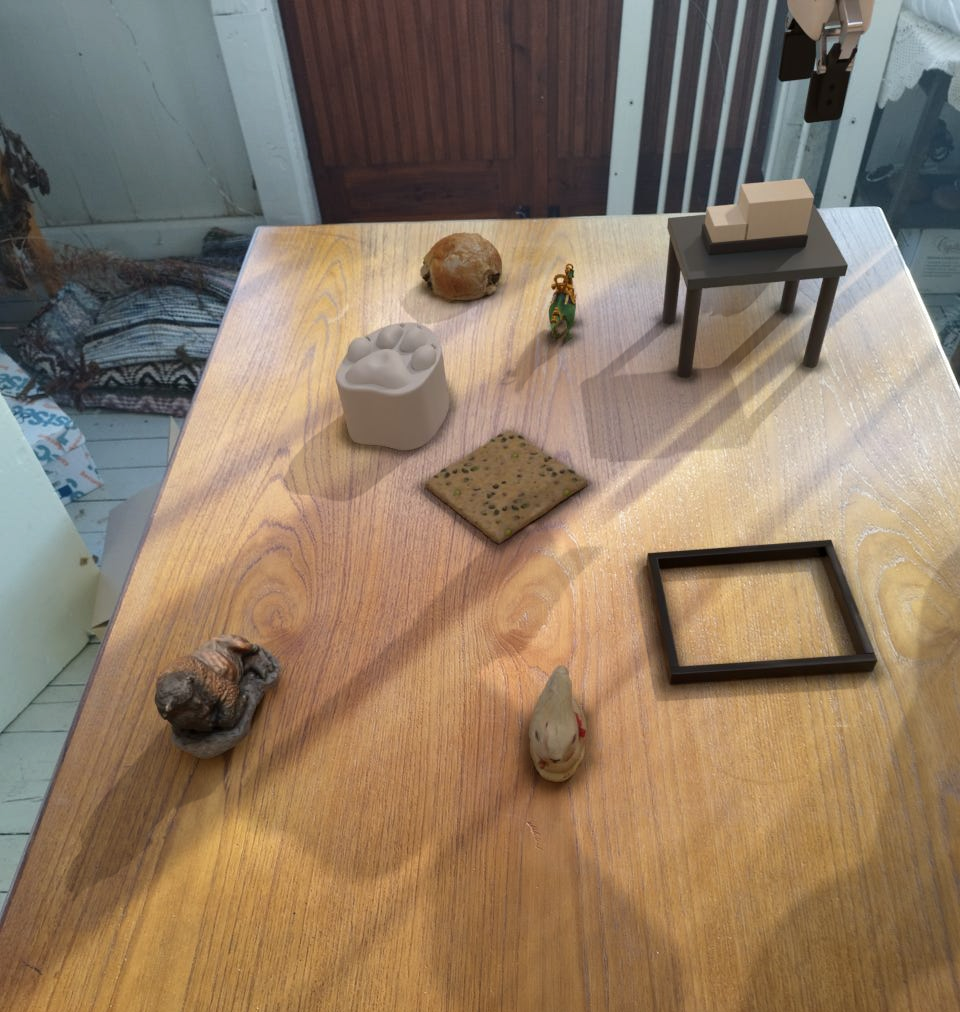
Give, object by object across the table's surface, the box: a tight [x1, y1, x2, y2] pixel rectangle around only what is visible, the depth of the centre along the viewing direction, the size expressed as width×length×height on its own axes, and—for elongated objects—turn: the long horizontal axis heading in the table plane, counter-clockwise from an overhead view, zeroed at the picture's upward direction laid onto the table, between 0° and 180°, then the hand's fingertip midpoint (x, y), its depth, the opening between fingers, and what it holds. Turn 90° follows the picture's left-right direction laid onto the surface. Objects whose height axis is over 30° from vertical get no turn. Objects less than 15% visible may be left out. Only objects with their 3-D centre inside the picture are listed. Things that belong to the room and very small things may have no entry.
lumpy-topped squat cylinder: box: [334, 321, 450, 451], centre depth 95 cm, size 10×13×9 cm
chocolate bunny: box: [528, 664, 588, 783], centre depth 66 cm, size 6×8×10 cm
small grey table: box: [661, 204, 849, 379], centre depth 96 cm, size 16×13×12 cm
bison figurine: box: [154, 633, 282, 760], centre depth 70 cm, size 12×7×10 cm, turn 168°
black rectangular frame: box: [646, 539, 878, 685], centre depth 76 cm, size 17×14×2 cm
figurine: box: [548, 263, 578, 341], centre depth 101 cm, size 3×12×8 cm, turn 166°
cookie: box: [424, 429, 587, 545], centre depth 88 cm, size 12×12×1 cm
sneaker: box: [701, 178, 815, 255], centre depth 90 cm, size 10×4×5 cm, turn 91°
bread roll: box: [419, 231, 503, 302], centre depth 112 cm, size 10×10×8 cm
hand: (807, 98), depth 81 cm, fingers open, 9 cm apart
